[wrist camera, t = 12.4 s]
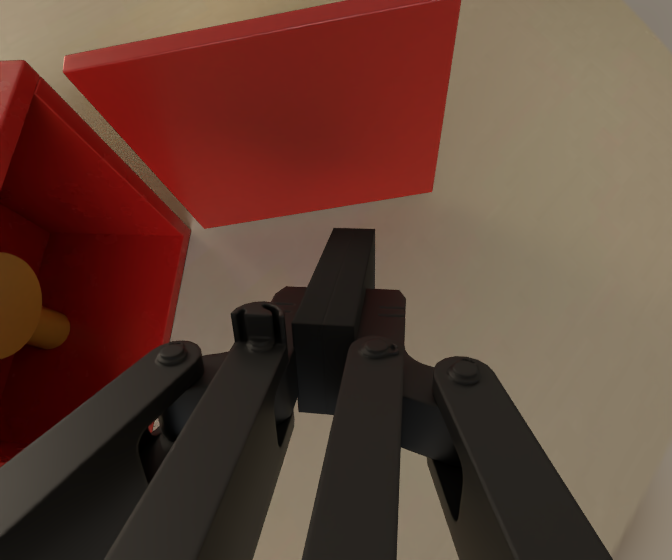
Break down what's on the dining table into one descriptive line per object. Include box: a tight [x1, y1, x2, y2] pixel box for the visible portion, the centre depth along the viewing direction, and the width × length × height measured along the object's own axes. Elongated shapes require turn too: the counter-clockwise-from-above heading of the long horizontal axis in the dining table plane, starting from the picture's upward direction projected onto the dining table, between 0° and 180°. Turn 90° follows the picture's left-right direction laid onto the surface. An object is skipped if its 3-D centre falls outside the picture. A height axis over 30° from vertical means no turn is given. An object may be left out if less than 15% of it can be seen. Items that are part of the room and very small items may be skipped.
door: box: [63, 0, 461, 229], centre depth 23 cm, size 4×14×13 cm, turn 97°
